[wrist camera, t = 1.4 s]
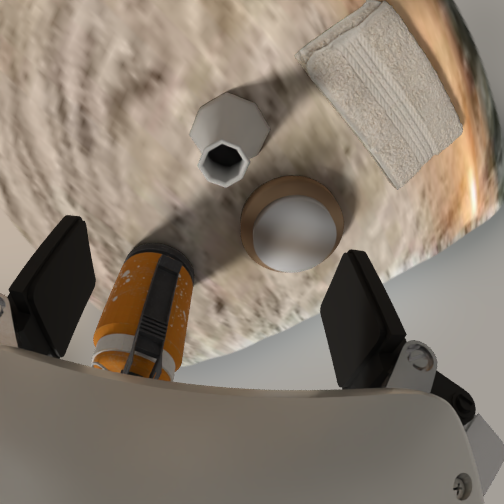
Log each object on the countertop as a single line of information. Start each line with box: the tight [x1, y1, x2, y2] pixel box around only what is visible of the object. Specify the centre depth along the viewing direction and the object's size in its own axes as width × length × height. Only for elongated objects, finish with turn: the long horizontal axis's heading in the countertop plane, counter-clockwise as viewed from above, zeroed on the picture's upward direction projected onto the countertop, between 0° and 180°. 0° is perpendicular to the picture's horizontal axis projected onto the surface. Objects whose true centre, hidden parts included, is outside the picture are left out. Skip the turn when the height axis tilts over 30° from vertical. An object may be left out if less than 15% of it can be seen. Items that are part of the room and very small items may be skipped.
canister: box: [91, 243, 194, 382], centre depth 27 cm, size 9×11×20 cm
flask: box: [189, 92, 270, 188], centre depth 22 cm, size 7×7×10 cm
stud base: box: [241, 176, 344, 273], centre depth 31 cm, size 11×11×4 cm
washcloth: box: [295, 0, 463, 190], centre depth 23 cm, size 12×18×3 cm, turn 45°
